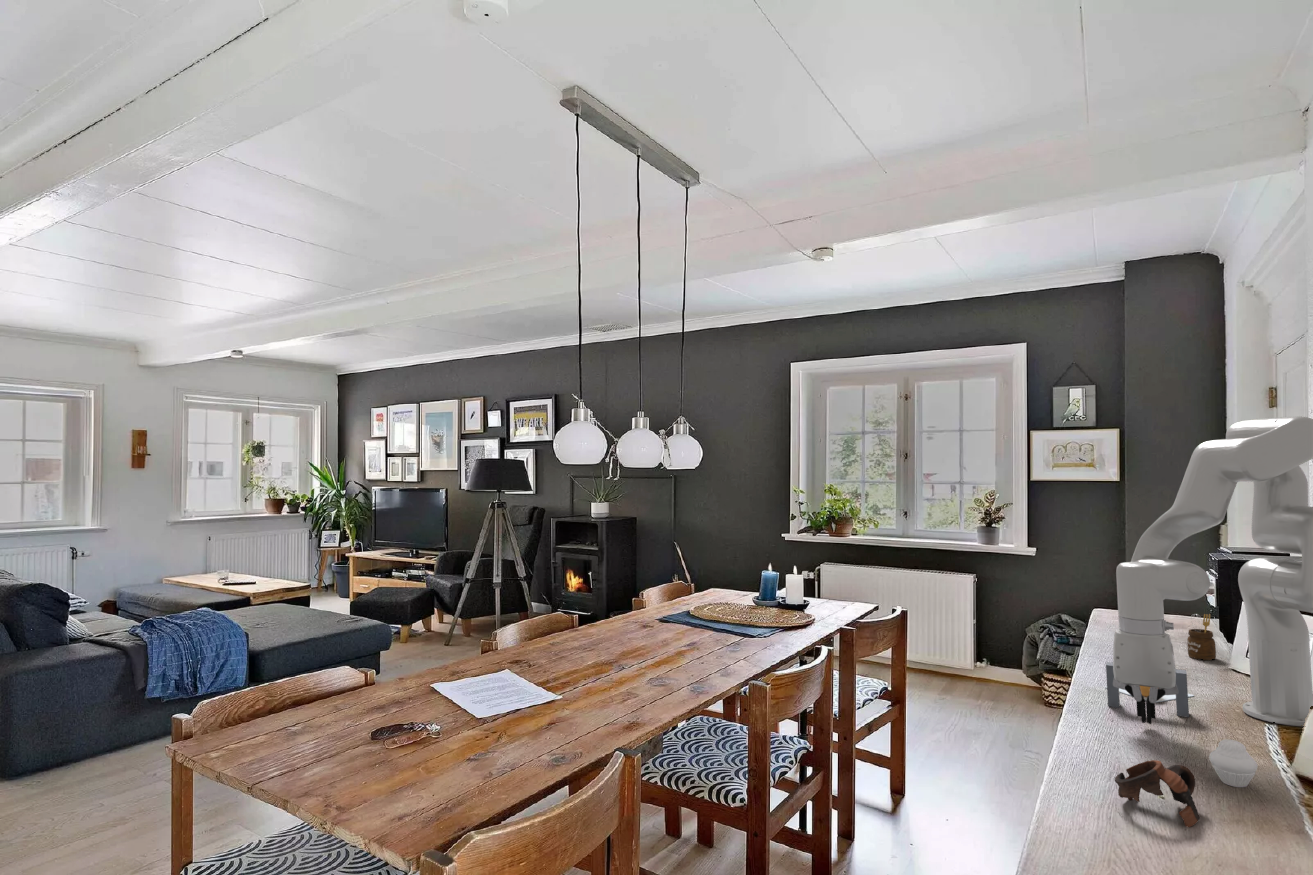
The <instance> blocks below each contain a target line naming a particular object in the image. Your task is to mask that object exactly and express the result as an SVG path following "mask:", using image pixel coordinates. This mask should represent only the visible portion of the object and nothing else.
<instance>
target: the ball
mask: <svg viewBox="0 0 1313 875" xmlns="http://www.w3.org/2000/svg"><path fill="white" fill-rule="evenodd" d="M1140 689H1141V693H1142V695H1143V696H1145V697H1147V696H1149V692H1150V687H1147V686H1140Z"/></svg>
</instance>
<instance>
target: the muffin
mask: <svg viewBox="0 0 1313 875" xmlns="http://www.w3.org/2000/svg"><path fill="white" fill-rule="evenodd" d="M1208 759H1209V761H1210V763H1211V766H1212V768H1213V769H1214V771H1215V773H1216V774H1217V776H1218V777H1219V779H1220V780H1221V782H1222V783H1223V784H1224V785H1227V786H1231V787H1235V788H1246V787H1247V786H1248V785H1249V784H1250V783H1251V781H1252V780H1253V778H1254V776H1255V775H1256V772H1257V770H1258V762H1257V761H1256V759H1254V758H1253V757H1252V756H1251V755H1250V753H1249V752H1248V751H1247V748H1246V745H1245V744H1243V743H1242V742H1240V741H1238V740H1235V739H1234V740H1233V739H1229V738H1228V739H1227V738H1225V739H1222V740H1220V741H1219V742H1218V746H1217V747H1216V748H1215V749H1214V750H1212V751H1211V752H1210V753H1209V757H1208Z"/></svg>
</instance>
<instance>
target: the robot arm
mask: <svg viewBox="0 0 1313 875" xmlns="http://www.w3.org/2000/svg"><path fill="white" fill-rule="evenodd" d="M1311 460H1313V418H1312V417H1308V416H1303V415H1302V416H1300V415H1299V416H1283V417H1265V418H1255V419H1246V420H1245V419H1244V420H1241V421H1238V422H1237V421H1236V422H1235V423H1233V424H1232V425H1231V426H1229V427H1228V428H1227V430H1226V433H1225V438H1221V439H1213V440H1212V439H1211V440H1207V441H1204V442H1202V443H1199V445H1197V446H1196V447H1195V448H1194V450H1193V452H1192V453H1191V457H1190V459H1189V462H1188V464H1187V467H1186V470H1185V472H1184V476H1183V479H1182V482H1181V484H1180V485H1179V489H1178V491H1177V494H1176V497H1175V500H1174V502H1173V504H1172V506H1171V507H1170V508H1169V509H1168V510H1167V511H1165V512H1164V513H1163V514H1161V515H1160V516H1159V517H1158V518H1157V519H1156V520H1155V521H1154V522H1152V524H1151V525H1150V526H1149V527H1148V528H1147V529H1146V530H1145V531H1144V532H1143V533H1142V535H1141V536H1140V538H1139V540H1138V541H1137V544H1136V546H1135V549H1134V552H1133V555H1132V557H1131V560H1130V561H1126V562H1125V561H1124V562H1120V563H1119V564H1118V565H1117V566H1116V572H1115V574H1116V575H1115V576H1116V593H1117V613H1118V629H1115V631H1114V637H1113V644H1112V646H1113V648H1112V662H1113V672H1114V679H1113V686H1114V687H1117V688H1120V689H1123V690H1126V691H1127V692H1128V693H1129V694H1130V695H1131V696H1130V695H1129V696H1130V697H1132V698H1134V700H1135V701H1136V716H1137V717H1141V723H1143V724H1145V723H1148V724H1149V725H1150V724H1151V725H1152V719H1155V720H1156V718H1157V715H1156V704H1157V702H1156V701H1157V700H1159V699H1160V698H1161V697H1163V696H1164V695H1176V694H1178V688H1177V685H1176V670H1175V669H1176V661H1175V653H1174V648H1173V643H1172V639H1171V636H1170V635H1171V634H1168V633H1167V631H1170V630H1173V631H1174V626H1175V625H1174V622H1169V621H1167V620H1166V619H1165V610H1164V601H1165V600H1172V601H1173V600H1174V601H1183V602H1184V601H1185V602H1187V601H1188V602H1189V601H1196V600H1198V599H1200V598H1202V597H1204V596H1205V595H1206V594H1207V593H1208V591H1209V590H1210V587H1211V579H1210V576H1209V575H1208V573H1207V572H1206V571H1205V570H1204V568H1202V567H1201V566H1199V565H1197V564H1195V563H1191V562H1188V561H1182V560H1175V559H1171V558H1170V559H1169V557H1170V555H1171V553H1172V552H1173V550H1174V549H1175V548H1176V547H1177V545H1179V544H1180V543H1181V542H1182V541H1184V540H1185V539H1188V538H1189V537H1191V536H1193V535H1196V534H1197V533H1201V532H1203V531H1206V530H1208V529H1211V528H1213V527H1216V526H1218V525H1219V524H1221V523H1222V522H1223V521H1224V519H1225V516H1226V513H1227V511H1228V508H1229V507H1230V506H1229V505H1230V502H1231V499H1232V498H1233V494H1234V492H1235V489H1236V488H1237V487H1236V486H1237V484H1238V483H1239V482H1248V483H1249V482H1250V483H1251V482H1252V483H1253V499H1252V500H1253V501H1252V513H1251V514H1252V515H1251V537H1252V540H1253V542H1254V543H1255V545H1257V546H1258V547H1259V548H1262V549H1264V550H1268V551H1272V552H1277V553H1287V554H1293V555H1301V561H1299V560H1293V559H1285V558H1276V557H1258V558H1253V559H1251V560H1248V561H1246V562H1245V563H1244V564H1243V565H1242V566H1241V567H1240V570H1239V572H1238V576H1237V577H1238V578H1237V582H1238V587H1239V592H1240V595H1241V598H1242V601H1243V604H1244V610H1245V615H1246V623H1247V624H1246V625H1247V627H1246V628H1247V639H1248V640H1247V642H1248V644H1247V645H1248V659H1249V674H1250V692H1251V701H1247V702H1244V703H1243V704H1242V711H1243V712H1244V713H1245V714H1246V715H1248V716H1250V717H1253V718H1255V719H1258V720H1261V721H1264V722H1269V723H1273V722H1275V723H1274V724H1277V725H1278V724H1279V725H1284V726H1285V725H1286V726H1292V727H1304V726H1303V725H1304V723H1305V718H1306V717H1307V715H1308V713H1309V709H1310V707H1311V706H1313V676H1312V675H1313V674H1312V661H1311V645H1310V641H1311V640H1310V631H1309V628H1308V627H1309V626H1308V625H1307V622H1306V619H1305V618H1304V616H1303V614H1302V613H1301V612H1306V613H1311V614H1313V506H1309V482H1308V478H1307V475H1306V474H1305V472H1304V470H1303V469H1302V467H1301V465H1302V464H1305V463H1308V462H1309V461H1311ZM1300 611H1301V612H1300ZM1140 686H1147V687H1150V692H1149V696H1147V700H1145V699H1144V696H1143V695H1142V693H1141V689H1140ZM1301 725H1302V726H1301Z"/></svg>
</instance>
